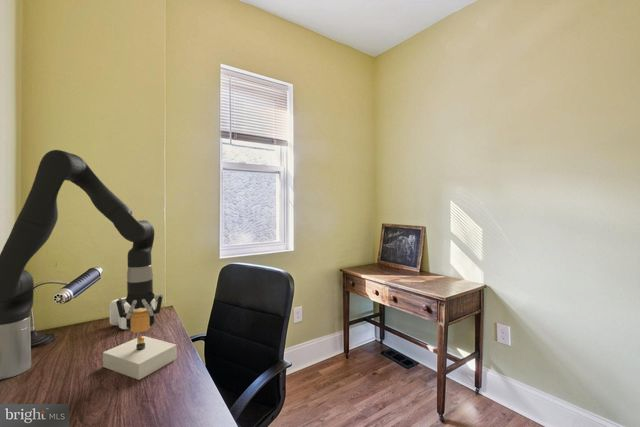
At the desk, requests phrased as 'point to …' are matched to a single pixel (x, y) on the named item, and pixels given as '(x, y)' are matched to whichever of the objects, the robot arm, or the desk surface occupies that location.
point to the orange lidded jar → (140, 320)
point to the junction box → (139, 357)
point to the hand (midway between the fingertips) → (141, 326)
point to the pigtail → (140, 343)
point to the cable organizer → (114, 313)
